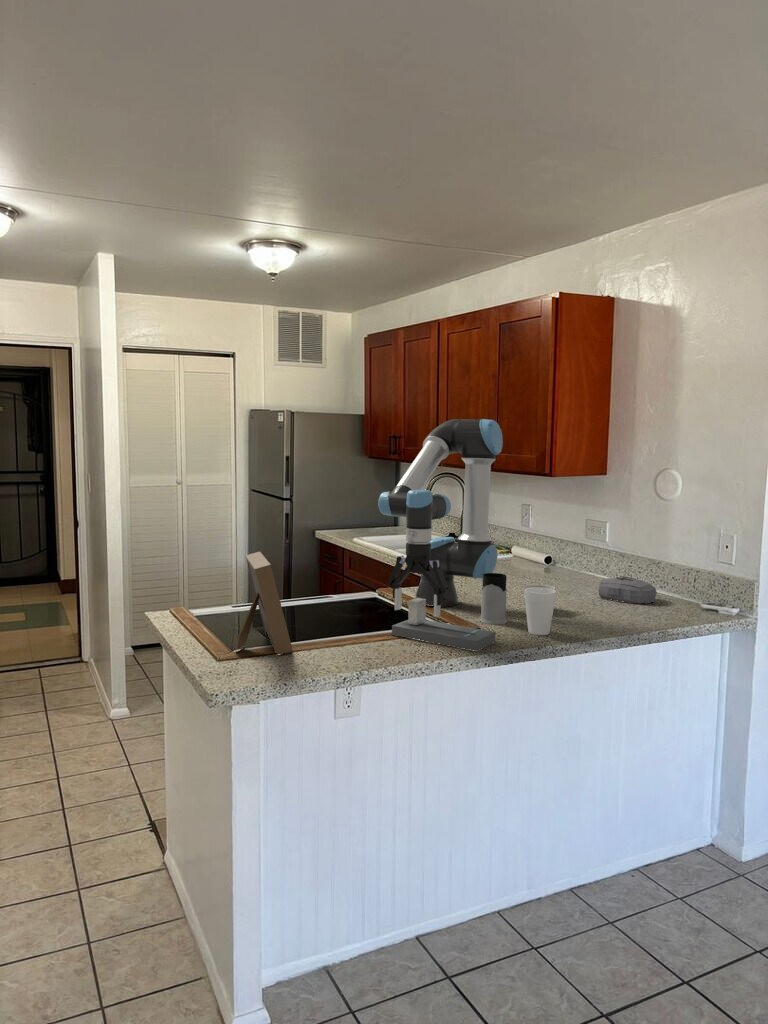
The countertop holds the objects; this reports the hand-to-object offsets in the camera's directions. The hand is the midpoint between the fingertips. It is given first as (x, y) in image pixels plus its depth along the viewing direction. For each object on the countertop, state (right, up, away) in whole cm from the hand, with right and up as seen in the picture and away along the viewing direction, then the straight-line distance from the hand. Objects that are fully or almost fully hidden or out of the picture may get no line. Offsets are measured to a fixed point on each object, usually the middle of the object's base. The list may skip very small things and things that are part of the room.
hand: (417, 612), depth 231 cm
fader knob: (0, -3, 0) cm, 3 cm away
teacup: (+43, -4, +35) cm, 56 cm away
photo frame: (-45, -8, -14) cm, 47 cm away
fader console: (+7, -7, -4) cm, 11 cm away
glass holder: (+26, -5, +20) cm, 34 cm away
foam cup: (+37, -7, +5) cm, 38 cm away
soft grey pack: (+80, -2, +53) cm, 96 cm away
